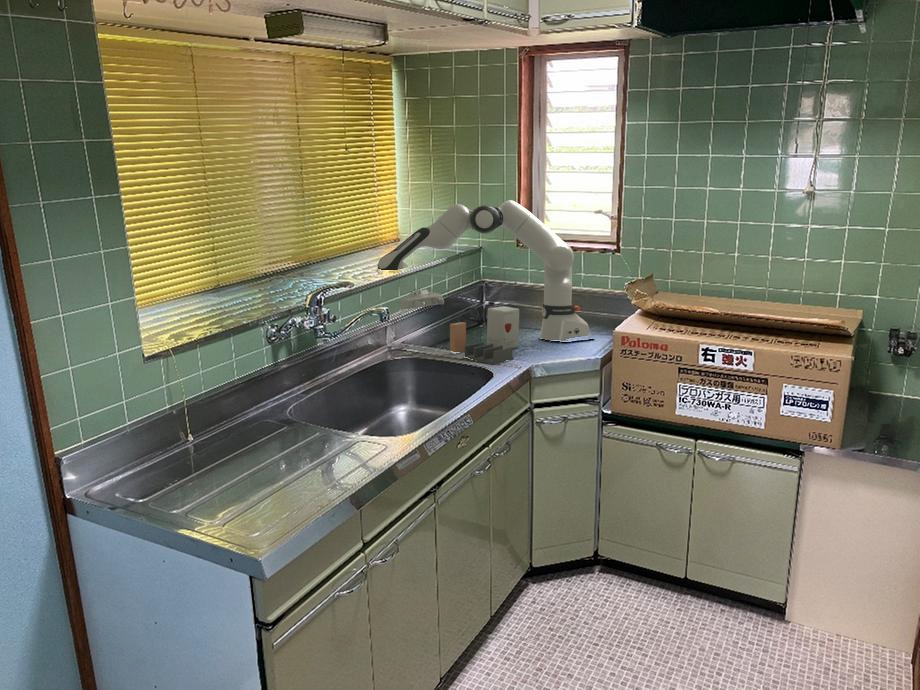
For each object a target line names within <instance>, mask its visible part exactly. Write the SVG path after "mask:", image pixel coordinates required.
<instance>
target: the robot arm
mask: <svg viewBox="0 0 920 690" xmlns="http://www.w3.org/2000/svg"><path fill="white" fill-rule="evenodd" d="M499 227H501V228H504V229H505V230H506V231H508V232H509V233H510V234H512V236H514V237H515V238H516V239H517V240H518V241H520V242H521V243H522V244H523V245H524V246H525V247H526V248H527V249H529V250H530V251H531V252H532V253H533V254H534V255H535V256H536V257H537V258H539V259H540V261H542V262H543V263H544V264H543V265H544V266H543V267H544V268H543V269H544V270H543V271H544V272H543V273H544V275H543V277H544V278H543V279H544V280H543V281H544V282H543V286H544V287H543V304H542V312H541V315H542V316H541V317H542V323H541V329H540V333H539V336H538V338H539V337H540V338H542V339H546V340H561V341H568V340H566V339H569V338H575V337H581V336H588V335H590V334H591V333H590V327H589V324H588V323H587V321H585V320H584V319H583V318H582V317H580V316H579V315H578V314H577V313H576V312H580V310H581V307H580V306H578V305H574V304H572V302H573V301H572V297H573V294H572V293H573V264H574V261H575V255H574V251H573V249H572V248H571V246H570V245H569V244H568V243H567V242H565V241H564V240H563V239H561V238H560V237H559V236H558V235H557V234H556V233H555V232H553V231H552V229H550V228H549V227H548V226H547V225H546V224H545V223H543V222H542V221H541V220H540V219H539V218H538V217H536V216H535V215H534V214H533V213H532V212H531V211H529V210H528V209H527V208H525V207H524V206H522V205H521V204H519V203H518V202H516V201H514V200H512V199H511V200H510V199H509V200H506V201H504V202H502V203H501V204H500V205H499V206H498V207H497V206H493V205H492V206H491V205H487V204H485V205H478V206H477V207H476V208H474V209H469V208H468V207H466V206H465V205H463V204H460V203H456V204H453V205H451V207H449V208H448V209H447V210H446V211H445V212H444V213H443V214H442V215H440V216H439V218H438V219H436V220H435V222H433V223H432V224H430V225H428V226H426V227H425V226H424V227H420V228H418V229H417V230H415V231H414V232H413V233H411V235H409V236H408V237H407V238H406V239H405V240H403V241H402V242H401V243H400V244H399V245H398V246H396V247H395V248H394V249H392V250H391V251H390V252H389V253H387V254H384V255H383V256H382V257H381V258H380V259H379V261H378V263H377V270H378V269H381V270H398V269H403V268H406V267H408V266H409V264H407V263H406V262H404V261H405V259H407V258H408V257H409V256H410V255H411V254H413V253H414V252H415V251H416V250H417V249H420V248H424V247H427V248H433V249H437V250H446V249H449V248H450V247H452V246H453V245H454V244H455V243H456V242H457V241H458V239H459V238H461V236H462V235H463V234H464V233H465V232H466V231H468V230H474V231H476V232H477V233H479V234H481V235H487V234H491V233H493V232H494V231H495V230H496V229H497V228H499ZM418 289H419V288H415V291H414V292H411V293H410V295H409V296H407V297H404V298H399V299H398V307H399V308H398V309H400V308H403V309H410V308H417V307H419V308H425V307H429V306H435V305H445V300H444V296H443V294H441V293H439V292H434V291H428V289H425V288H424V289H423V288H420V289H422V290H420V289H419V290H418ZM403 309H402V310H403ZM417 309H418V308H417Z"/></svg>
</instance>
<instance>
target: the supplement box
mask: <svg viewBox="0 0 920 690" xmlns="http://www.w3.org/2000/svg"><path fill="white" fill-rule="evenodd" d="M486 322H487V323H486V324H487V325H486V331H487V332H486V345H488V344H493V347H497V346H501V345H503V349H506V348H510V347H513V348H519V336H520V308H516V307H510V306H496V307H495V306H494V307H488V308H487V321H486Z"/></svg>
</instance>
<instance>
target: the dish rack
mask: <svg viewBox="0 0 920 690" xmlns="http://www.w3.org/2000/svg"><path fill="white" fill-rule="evenodd" d="M513 350H514V349H513V347H510V348H506V349H503V345H501V346H497V347H493V344H488V345H487V344H485V341H481V342H475V343H471V344H466V346H465V352H464V355H463V356H465V357H468V358H470V359H473V360H477V361H476V362H478V361H479V362H478V363H482V362H483V363H484V364H488V365H493V366H494V365H497V364H502V363H505V362H504V361H506V360H510V361H513V360H514V356H513ZM473 360H472V361H473ZM501 362H502V363H501ZM506 362H507V361H506ZM483 363H482V364H483Z"/></svg>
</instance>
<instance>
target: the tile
mask: <svg viewBox="0 0 920 690" xmlns="http://www.w3.org/2000/svg"><path fill="white" fill-rule="evenodd" d="M466 345H467V322H464V321H463V322H462V321H461V322H460V321H459V322H455V323H449V352H450V351H453V352H463V353H465V346H466Z"/></svg>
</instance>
